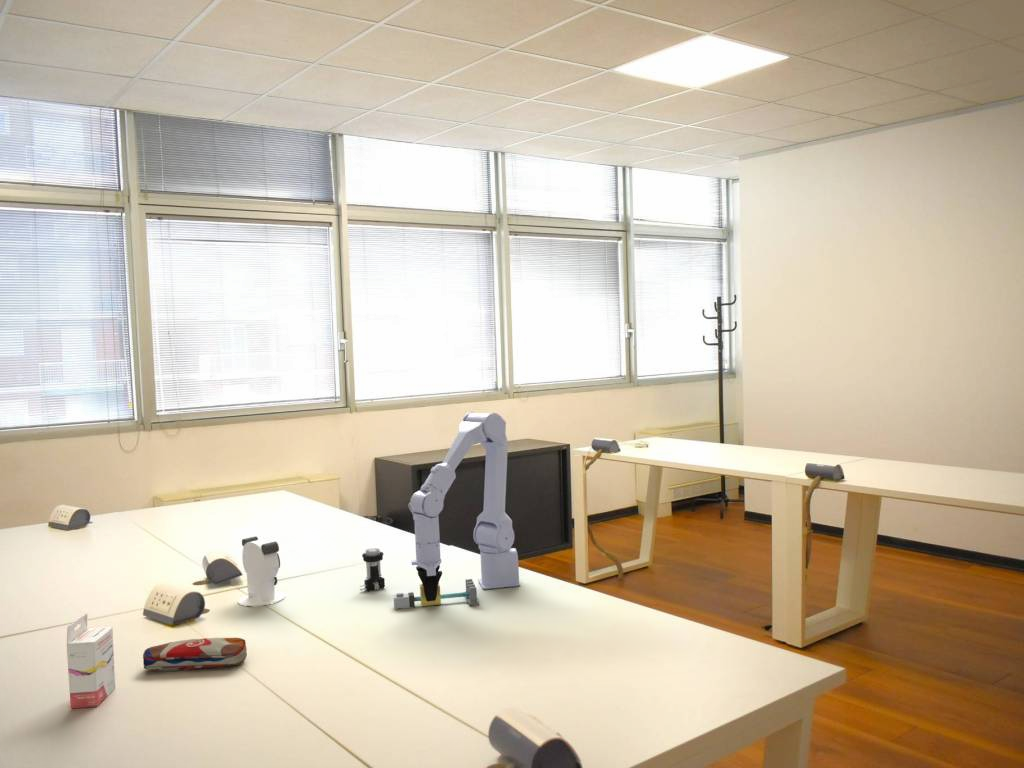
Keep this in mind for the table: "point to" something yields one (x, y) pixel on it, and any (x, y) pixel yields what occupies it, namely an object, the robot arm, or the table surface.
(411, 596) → the band
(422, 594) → the marker sleeve
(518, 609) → the table surface
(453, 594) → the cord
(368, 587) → the push button
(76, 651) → the ink cartridge box
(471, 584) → the cable comb
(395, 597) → the connector
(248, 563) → the panda figurine
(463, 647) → the table surface
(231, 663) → the pencil case
